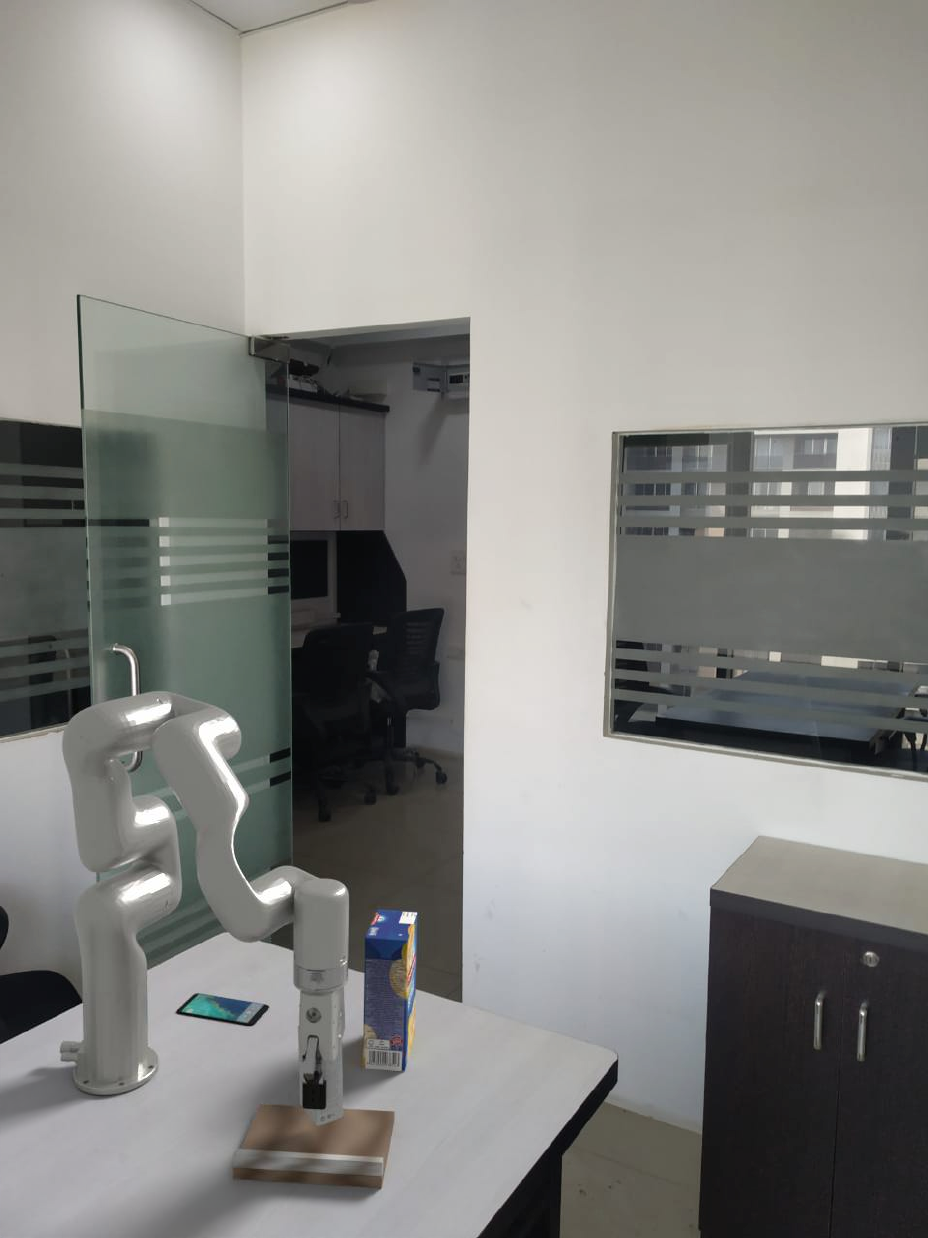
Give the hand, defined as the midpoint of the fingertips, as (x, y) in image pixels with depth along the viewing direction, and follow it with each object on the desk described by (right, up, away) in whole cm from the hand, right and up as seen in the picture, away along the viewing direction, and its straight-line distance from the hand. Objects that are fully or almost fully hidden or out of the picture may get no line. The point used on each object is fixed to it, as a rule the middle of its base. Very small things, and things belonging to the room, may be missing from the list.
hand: (320, 1089), depth 135 cm
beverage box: (+8, -6, +25) cm, 26 cm away
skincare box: (0, -3, 0) cm, 3 cm away
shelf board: (0, -8, 0) cm, 8 cm away
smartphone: (-23, -4, +36) cm, 43 cm away
